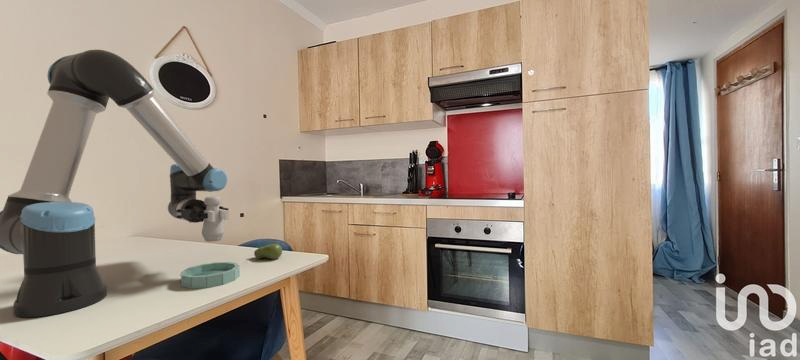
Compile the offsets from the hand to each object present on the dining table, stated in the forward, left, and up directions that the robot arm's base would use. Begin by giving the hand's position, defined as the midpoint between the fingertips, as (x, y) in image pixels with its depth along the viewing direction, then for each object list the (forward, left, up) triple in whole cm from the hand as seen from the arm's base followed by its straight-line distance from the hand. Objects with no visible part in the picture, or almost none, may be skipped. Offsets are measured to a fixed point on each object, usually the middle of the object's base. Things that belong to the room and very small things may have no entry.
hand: (220, 215), depth 94 cm
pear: (+7, +20, -18) cm, 28 cm away
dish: (-2, -1, -18) cm, 18 cm away
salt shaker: (-4, +4, -8) cm, 10 cm away
